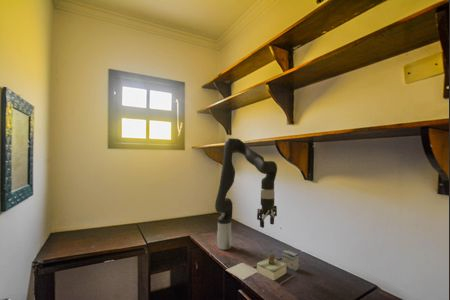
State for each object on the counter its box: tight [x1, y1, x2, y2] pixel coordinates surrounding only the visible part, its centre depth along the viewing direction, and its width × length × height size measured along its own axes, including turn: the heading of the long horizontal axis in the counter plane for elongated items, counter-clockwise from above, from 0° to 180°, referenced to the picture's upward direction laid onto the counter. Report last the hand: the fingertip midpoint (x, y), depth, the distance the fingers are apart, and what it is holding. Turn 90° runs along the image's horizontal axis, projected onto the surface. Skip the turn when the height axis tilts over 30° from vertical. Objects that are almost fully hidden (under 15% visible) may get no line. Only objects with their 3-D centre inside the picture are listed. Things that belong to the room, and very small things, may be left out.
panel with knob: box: [225, 262, 257, 281], centre depth 126 cm, size 13×13×1 cm
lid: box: [256, 253, 286, 273], centre depth 124 cm, size 11×11×6 cm
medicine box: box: [281, 249, 299, 272], centre depth 130 cm, size 8×4×9 cm, turn 45°
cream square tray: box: [256, 264, 287, 281], centre depth 124 cm, size 11×11×4 cm
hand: (267, 225), depth 129 cm, fingers open, 8 cm apart
